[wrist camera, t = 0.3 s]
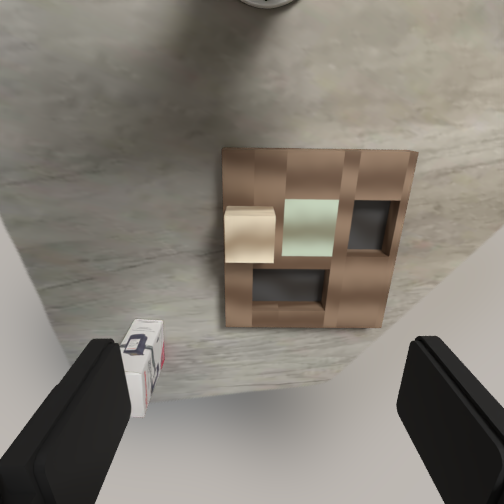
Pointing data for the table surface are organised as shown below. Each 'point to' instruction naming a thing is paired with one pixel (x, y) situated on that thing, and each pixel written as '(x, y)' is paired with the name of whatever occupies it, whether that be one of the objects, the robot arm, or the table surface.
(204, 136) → the table surface
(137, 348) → the ink box
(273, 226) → the birch block
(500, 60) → the table surface
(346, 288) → the board
